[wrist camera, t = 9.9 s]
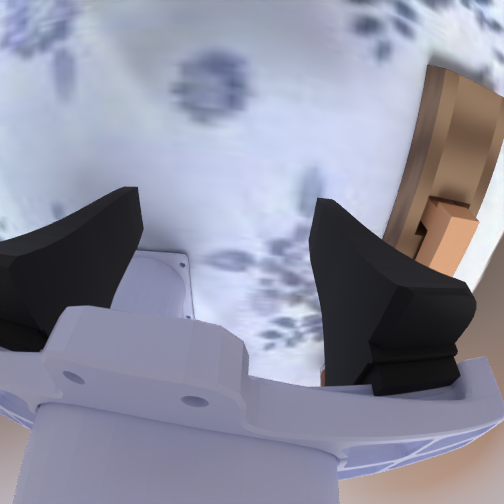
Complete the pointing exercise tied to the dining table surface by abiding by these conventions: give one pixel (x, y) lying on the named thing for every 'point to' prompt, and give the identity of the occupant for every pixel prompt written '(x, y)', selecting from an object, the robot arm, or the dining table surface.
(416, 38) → the dining table surface
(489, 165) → the rail
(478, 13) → the dining table surface
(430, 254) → the clip
